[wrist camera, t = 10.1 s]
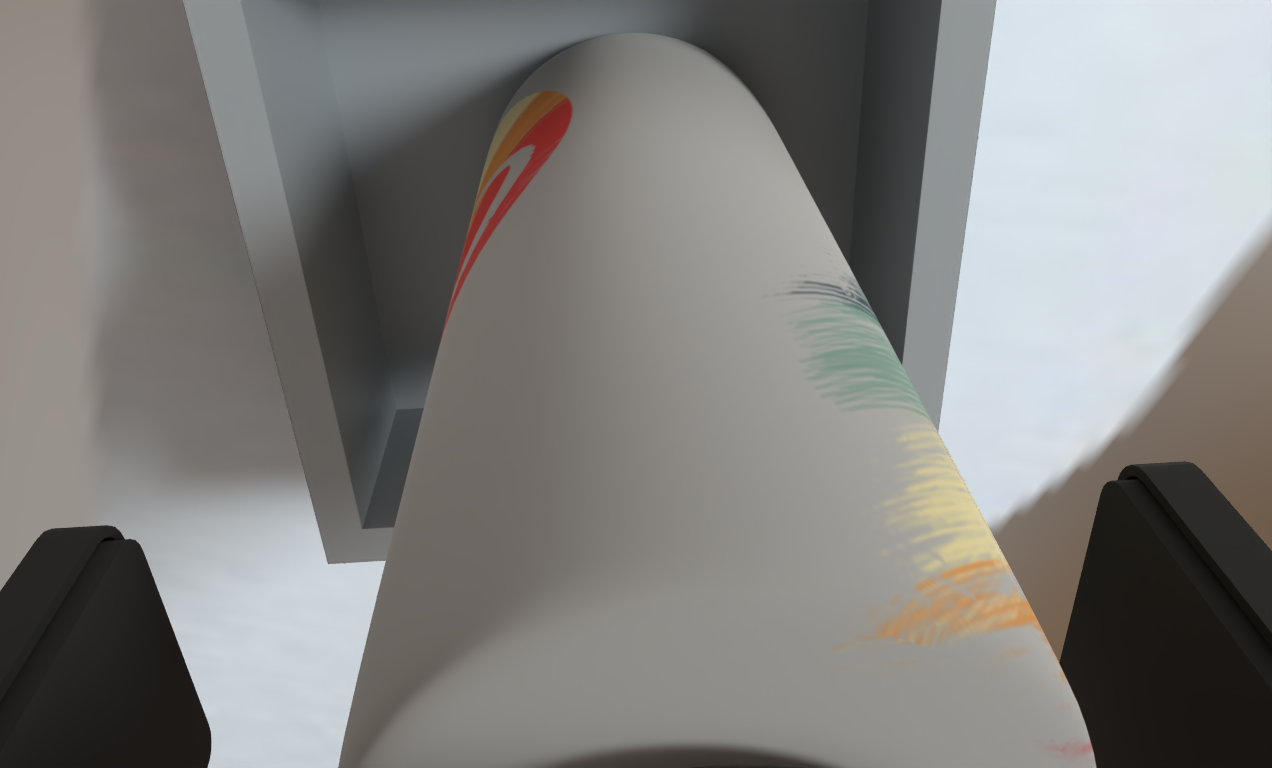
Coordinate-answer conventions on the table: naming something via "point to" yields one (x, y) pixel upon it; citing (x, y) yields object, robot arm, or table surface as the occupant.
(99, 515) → the table surface
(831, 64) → the box
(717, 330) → the lotion bottle
